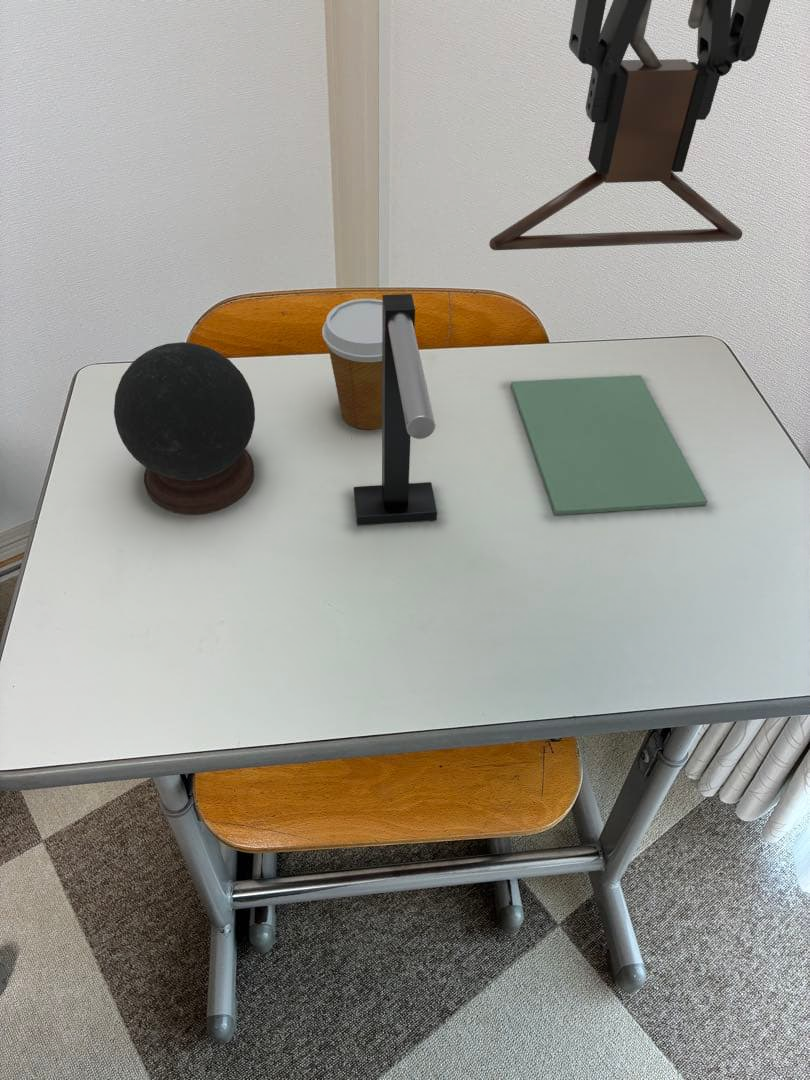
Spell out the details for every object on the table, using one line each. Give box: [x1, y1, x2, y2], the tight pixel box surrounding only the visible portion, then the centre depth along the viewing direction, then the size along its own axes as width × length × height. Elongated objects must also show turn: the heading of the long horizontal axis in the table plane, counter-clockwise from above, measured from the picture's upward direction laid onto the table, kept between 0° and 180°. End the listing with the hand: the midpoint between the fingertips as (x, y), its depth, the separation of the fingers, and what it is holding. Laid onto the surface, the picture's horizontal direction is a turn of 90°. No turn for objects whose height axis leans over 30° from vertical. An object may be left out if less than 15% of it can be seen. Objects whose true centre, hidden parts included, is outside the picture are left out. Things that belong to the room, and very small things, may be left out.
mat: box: [510, 374, 708, 516], centre depth 89 cm, size 22×16×1 cm
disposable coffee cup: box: [321, 298, 382, 430], centre depth 87 cm, size 10×10×12 cm
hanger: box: [488, 0, 743, 251], centre depth 58 cm, size 21×2×18 cm, turn 97°
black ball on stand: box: [113, 341, 256, 515], centre depth 78 cm, size 13×13×15 cm
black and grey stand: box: [353, 293, 438, 526], centre depth 68 cm, size 8×17×23 cm, turn 7°
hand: (635, 164), depth 60 cm, fingers closed on hanger, 5 cm apart
